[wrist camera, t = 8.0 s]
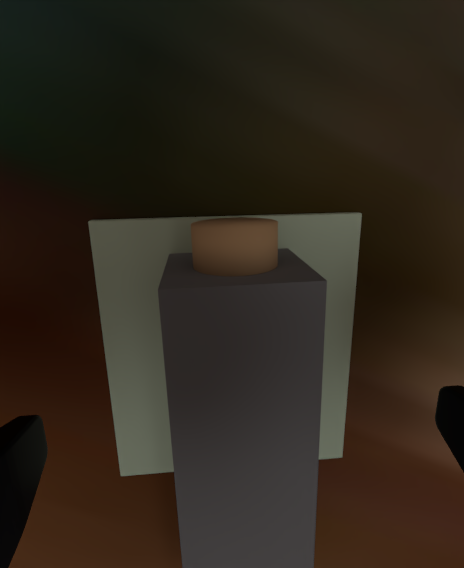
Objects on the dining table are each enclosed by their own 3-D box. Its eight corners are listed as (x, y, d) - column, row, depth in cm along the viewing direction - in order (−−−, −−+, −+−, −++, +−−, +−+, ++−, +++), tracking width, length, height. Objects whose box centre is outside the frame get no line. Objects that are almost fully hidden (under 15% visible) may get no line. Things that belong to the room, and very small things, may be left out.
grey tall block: (283, 555, 17) (309, 668, 13) (193, 565, 16) (192, 684, 13) (288, 212, 12) (329, 230, 9) (166, 217, 12) (153, 238, 8)
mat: (338, 450, 16) (342, 457, 16) (122, 468, 15) (120, 476, 15) (357, 212, 13) (361, 213, 13) (91, 219, 12) (87, 221, 12)
